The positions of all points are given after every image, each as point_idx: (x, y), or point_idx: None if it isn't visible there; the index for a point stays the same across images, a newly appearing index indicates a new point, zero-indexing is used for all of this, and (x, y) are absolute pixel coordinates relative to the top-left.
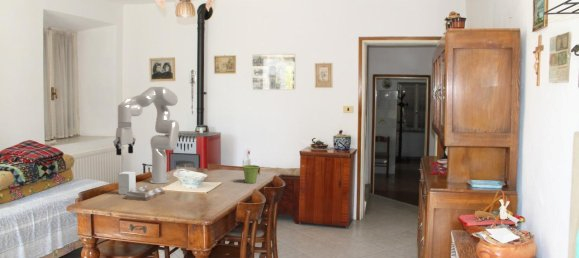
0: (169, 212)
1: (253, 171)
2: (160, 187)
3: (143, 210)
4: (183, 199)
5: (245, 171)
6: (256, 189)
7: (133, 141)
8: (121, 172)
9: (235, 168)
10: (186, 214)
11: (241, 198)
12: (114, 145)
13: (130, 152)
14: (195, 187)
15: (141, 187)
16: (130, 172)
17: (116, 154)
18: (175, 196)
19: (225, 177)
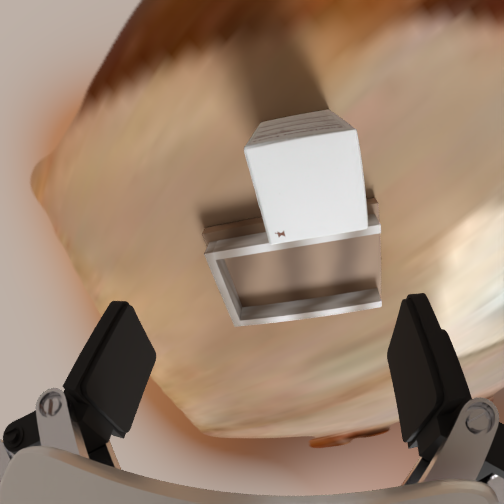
0: (190, 396)
1: None
2: (366, 307)
3: (157, 357)
4: (318, 373)
5: None
6: None
7: (498, 500)
8: (287, 145)
9: None
10: (204, 415)
11: (378, 425)
12: (10, 427)
13: (395, 343)
14: (491, 308)
15: (326, 241)
16: (323, 217)
17: (112, 303)
18: (346, 342)
19: None
